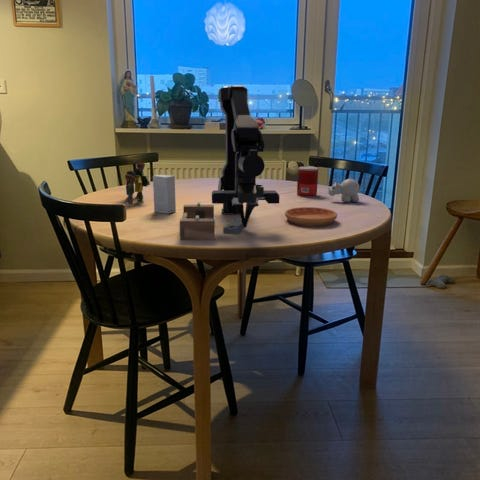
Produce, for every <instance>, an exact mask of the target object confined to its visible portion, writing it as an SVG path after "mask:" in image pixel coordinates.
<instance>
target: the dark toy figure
mask: <svg viewBox="0 0 480 480" xmlns="http://www.w3.org/2000/svg"><path fill="white" fill-rule="evenodd" d="M136 167H137V168H134V169H133V170H128V171H126V174H125V176H124V177H125V181H126V184H125V185H126V186H125V190H126V195H127V197H126V198H125V199H124V201H125V202H126V203H125V205H126V207H135V204H134V202H133V201H134V199H137V200H136V202H135V203H136V204H137V205H138V204H139V205H140V204H145V201H144V195H143V191H144V187H148V186H150V184H151V182H150V181H149V179H148V177H150V175H145V174H144V171H143V170H145V167H146V164H145V163H144V162H137V163H136ZM135 193H136V195H135V197H134V194H135Z"/></svg>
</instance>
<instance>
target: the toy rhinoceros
mask: <svg viewBox="0 0 480 480" xmlns="http://www.w3.org/2000/svg"><path fill="white" fill-rule="evenodd" d="M333 183H334V184H333V185H332V186H331V187H330V186H328V188H327V191H328V195H329V196H330V197H334V196H335V195H340V194H341V195H340V196H341V198H340V199H341V201H343V203H351V202H352V203H358V202H360V197H359V193H360V184H359V182H358V181H357V180H355V179H353V178H347V179H344V180H343V181H342V182H341V183H338V182H336V181H334V182H333Z"/></svg>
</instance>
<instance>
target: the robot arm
mask: <svg viewBox="0 0 480 480" xmlns="http://www.w3.org/2000/svg"><path fill="white" fill-rule="evenodd" d="M248 93H249V92H248V88H247V87H246V86H244V85H239V84H238V85H237V84H234V85H232V84H231V85H228V86H222V87H221V88H220V89H218V93H217V98H218V103H219V104H220V105H219V107H220V109H221V112H222V113H223V115H224V117H225V164H224V166H223V167H222V169H221V172H220V175H221V176H220V175H219V179H218V184H217V185H218V186H217V189H216V190H213V191H211V204H212V205H215V204H216V205H218V204H219V205H220V204H222V208H221V214H222V215H239V216H240V220H242V224H243V227H244V228H246V227H247V226H248V222H249V219H250V216H251V214H252V212H253V210H255V208H256V207H259V205H260V204H259V203H258V202H259V201H266V202H267V204H269V205H270V204H274V205H275V204H276V205H277V204H280V194H279V192H277V191H276V190H273V189H271V190H268V189H267V190H264V189H265V186H264V184H263V183H262V184H261V183H260V184H257V183H256V182H257V181H256V179H257V177H259V176H260V175H262V173H263V172H264V171H265V162H264V161H265V160H263V158H262V156H260V155H259V154H258V153H260V152H261V153H264V149H265V147H266V146H265V141H264V135H263V133H262V132H261V129H260V128H259V126H258V122H257V121H256V120H254V119H253V118H252V117H251V112H250V108H249V103H248ZM244 204H245V211H244Z"/></svg>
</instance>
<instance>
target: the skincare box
mask: <svg viewBox="0 0 480 480" xmlns="http://www.w3.org/2000/svg"><path fill="white" fill-rule="evenodd" d="M175 179H176V177H175V175H169V174H168V175H167V174H156V175H153V176H152V188H153V209H154V210H153V211H154V212H155V213H161V214H166V215H167V214H172V213H176V210H177V209H176V205H177V204H176V181H175Z"/></svg>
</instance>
